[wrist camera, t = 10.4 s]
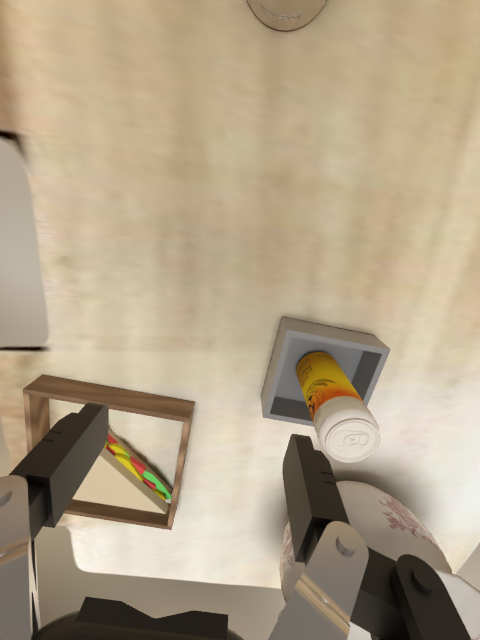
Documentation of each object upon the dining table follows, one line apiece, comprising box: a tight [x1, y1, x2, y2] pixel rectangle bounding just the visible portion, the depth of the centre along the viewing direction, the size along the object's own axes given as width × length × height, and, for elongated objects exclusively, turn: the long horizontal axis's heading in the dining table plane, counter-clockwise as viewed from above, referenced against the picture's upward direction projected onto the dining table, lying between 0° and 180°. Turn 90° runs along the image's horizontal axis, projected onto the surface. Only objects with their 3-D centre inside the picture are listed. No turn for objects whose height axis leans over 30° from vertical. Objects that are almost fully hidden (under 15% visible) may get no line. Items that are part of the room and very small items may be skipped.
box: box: [261, 317, 390, 426], centre depth 40 cm, size 14×14×5 cm
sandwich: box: [72, 428, 173, 514], centre depth 48 cm, size 15×20×5 cm
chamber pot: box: [277, 480, 480, 640], centre depth 42 cm, size 28×28×21 cm
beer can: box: [296, 352, 380, 463], centre depth 35 cm, size 6×6×15 cm
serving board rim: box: [23, 375, 195, 530], centre depth 46 cm, size 24×24×4 cm
